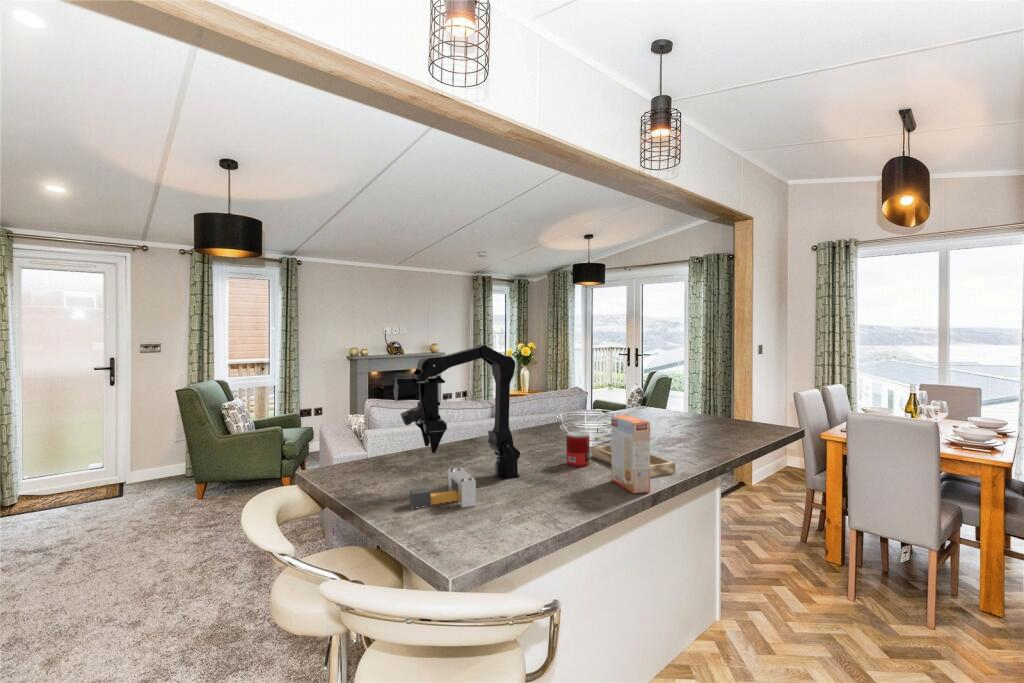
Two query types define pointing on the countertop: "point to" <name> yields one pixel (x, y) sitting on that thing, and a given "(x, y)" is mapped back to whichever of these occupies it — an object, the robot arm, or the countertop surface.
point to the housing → (463, 486)
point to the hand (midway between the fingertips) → (430, 449)
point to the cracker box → (631, 453)
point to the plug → (431, 497)
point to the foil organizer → (656, 463)
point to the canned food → (578, 449)
